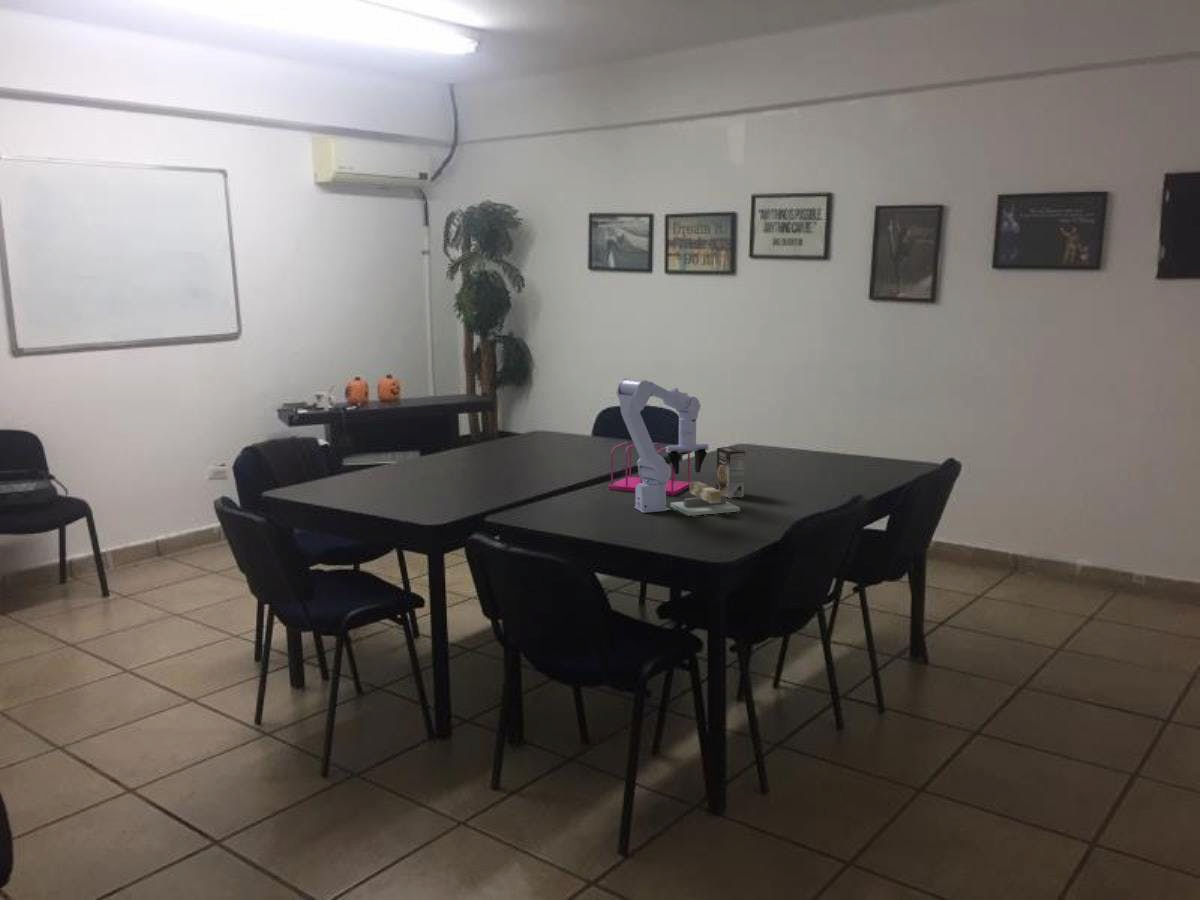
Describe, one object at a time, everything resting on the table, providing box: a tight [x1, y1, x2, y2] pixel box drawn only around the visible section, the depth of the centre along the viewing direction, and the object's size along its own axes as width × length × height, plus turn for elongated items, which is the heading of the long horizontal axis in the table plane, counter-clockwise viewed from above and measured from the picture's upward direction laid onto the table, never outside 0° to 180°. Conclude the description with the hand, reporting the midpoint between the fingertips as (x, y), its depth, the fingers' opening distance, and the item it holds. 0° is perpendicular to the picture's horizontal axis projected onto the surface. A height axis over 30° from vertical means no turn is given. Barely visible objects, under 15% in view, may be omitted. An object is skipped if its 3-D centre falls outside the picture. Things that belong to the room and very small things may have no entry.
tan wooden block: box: [689, 481, 721, 503], centre depth 309 cm, size 16×4×4 cm, turn 19°
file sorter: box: [608, 441, 691, 497], centre depth 341 cm, size 17×25×16 cm
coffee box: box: [715, 446, 746, 499], centre depth 329 cm, size 9×6×16 cm
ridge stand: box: [669, 495, 741, 516], centre depth 310 cm, size 18×14×4 cm
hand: (687, 472), depth 319 cm, fingers open, 7 cm apart
